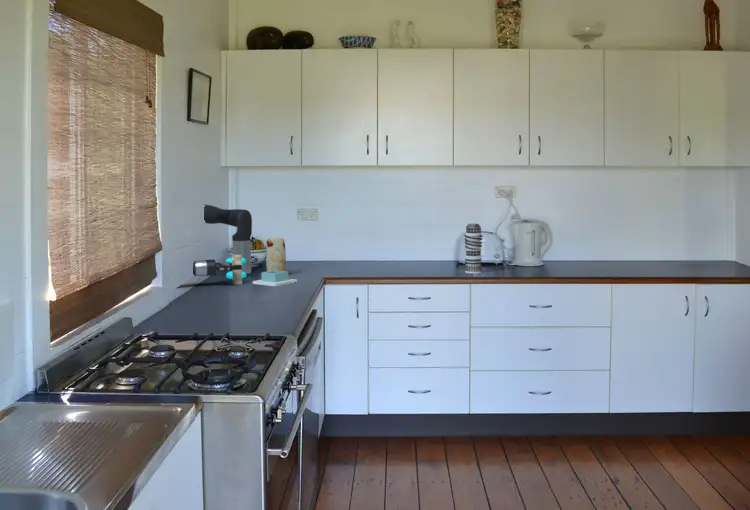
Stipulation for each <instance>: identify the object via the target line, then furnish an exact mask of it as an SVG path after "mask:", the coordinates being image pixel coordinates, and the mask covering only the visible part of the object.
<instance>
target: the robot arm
mask: <svg viewBox="0 0 750 510" xmlns="http://www.w3.org/2000/svg"><path fill="white" fill-rule="evenodd" d="M204 205H205V207H204V220H205V222H206V223H205V224H207V225H209V224H211V225H212V224H213V225H214V224H215V225H216V224H224V225H227V226H228V225H229V226H232V227H235V228H236V233H234V234H233V235H232V236H231V237H232V238H231V241H232V255H233V254H241V258H245V259H246V263H245V264H244V265H242V266H241V265H232V263H231V264H230V263H229V262H226V261H224V262H223V261H222V262H221V261H220V262H216V260H215V258H214V259H213V258H212V259H198V260H193V261H194V263H193V274H194V276H193V277H210V276H216V275H217V271H219V272H220V273H222V272H223V273H224V272H230V271H233V270H241V269H242V271H244V272H245V273H246V274H251V273H252V258H251V257H252V252H251V251H252V250H251V248H252V246H251V236H252V231H253V219H252V217H253V216H252V215H251V214H252V213H251V212H250V211H249V210H247V209H242V208H241V209H239V208H238V209H227V208H226V209H224V208H220V207H218V206H215V205H210V204H204Z"/></svg>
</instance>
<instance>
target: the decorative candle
mask: <svg viewBox="0 0 750 510" xmlns="http://www.w3.org/2000/svg"><path fill="white" fill-rule="evenodd" d="M465 228H466V229H465V234H464V244H465V245H464V247H465V249H464V250H465V259H464V260H465V261H464V263H465V265H464V270H465V271H464V272H465V273H466V274H481V273H482V264H483V263H482V255H481V254H482V247H483V245H482V244H483V242H482V240H483V235H482V226H481V225H480V224H479V223H468V224H467V225H466V226H465Z"/></svg>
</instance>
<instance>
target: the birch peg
mask: <svg viewBox="0 0 750 510" xmlns="http://www.w3.org/2000/svg"><path fill="white" fill-rule="evenodd" d="M231 258H232V265H241V266H242V260H241V254H233V253H232V254H231ZM232 275H233V279H232V285H233V286H238V285H239V286H240V285H243V279H242V269H241V270H233V271H232Z"/></svg>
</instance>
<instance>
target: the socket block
mask: <svg viewBox="0 0 750 510" xmlns="http://www.w3.org/2000/svg"><path fill="white" fill-rule="evenodd" d="M295 282H296V283H298V279H296V278H295V279H293V278H289V271H287V270H285V271H276V270H273V271H268V272H267V271H262V272H261V279H257V280H252V284H253V285H260V286H261V285H262V286H268V287H279V286H280V287H281V286H285V285H290V283H291V284H295Z"/></svg>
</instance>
